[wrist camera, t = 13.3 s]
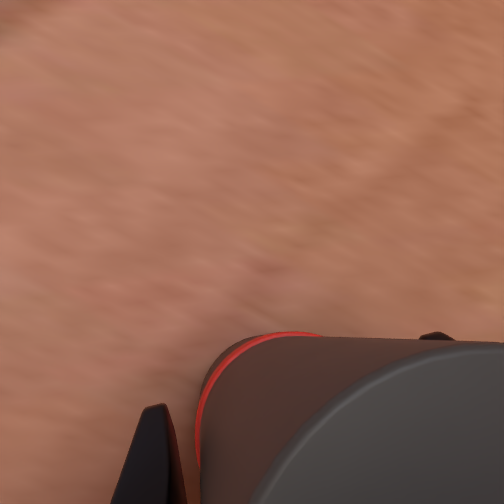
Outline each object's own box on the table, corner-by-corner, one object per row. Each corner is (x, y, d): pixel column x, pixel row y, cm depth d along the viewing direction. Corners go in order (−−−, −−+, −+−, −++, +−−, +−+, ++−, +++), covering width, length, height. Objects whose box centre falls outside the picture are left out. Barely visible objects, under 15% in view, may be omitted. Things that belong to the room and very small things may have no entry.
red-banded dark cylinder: (353, 458, 15) (911, 910, 3) (213, 499, 14) (282, 1254, 3) (317, 317, 16) (677, 272, 4) (182, 350, 15) (125, 414, 3)
